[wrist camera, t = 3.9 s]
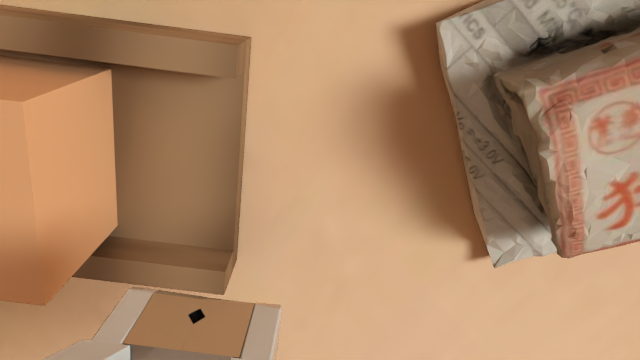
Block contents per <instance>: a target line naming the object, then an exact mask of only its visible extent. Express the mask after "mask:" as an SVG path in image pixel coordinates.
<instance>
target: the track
mask: <svg viewBox="0 0 640 360" xmlns="http://www.w3.org/2000/svg"><path fill="white" fill-rule="evenodd" d="M250 50H251V37H246V36H238V35H231V34H223V33H215V32H207V31H200V30H192V29H184V28H176V27H169V26H161V25H153V24H145V23H138V22H130V21H122V20H114V19H107V18H99V17H91V16H83V15H76V14H68V13H60V12H52V11H45V10H37V9H29V8H21V7H14V6H6V5H0V55H7V56H15V57H23V58H30V59H38V60H46V61H54V62H62V63H70V64H78V65H85V66H93V67H101V68H109V69H111V78H112V102H113V126H114V150H115V174H116V199H117V223H118V226H117V227H116V228H115V229H114V230H113V231H112V232H111V233H110V235H109V236H108V237H107V238H106V239H105V240H104V241H103V242H102V243H101V244H100V246H99V247H98V248H97V249H96V250H95V251H94V252H93V253H92V254H91V256H90V257H89V258H88V259H87V260H86V261H85V262H84V263H83V264H82V266H81V267H80V268H79V269H78V270H77V271H76V272H75V273H74V274H73V275H72V277H77V278H86V279H94V280H102V281H111V282H119V283H127V284H136V285H144V286H153V287H161V288H169V289H178V290H186V291H194V292H203V293H211V294H220V295H224V294H225V291H226V288H227V285H228V282H229V280H230V277H231V274H232V271H233V268H234V266H235V263H236V260H237V248H238V233H239V218H240V203H241V187H242V172H243V157H244V141H245V126H246V111H247V95H248V80H249V65H250Z"/></svg>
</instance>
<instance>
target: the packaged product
mask: <svg viewBox="0 0 640 360" xmlns="http://www.w3.org/2000/svg"><path fill="white" fill-rule="evenodd" d="M436 32H437V41H438V49H439V57H440V65H441V69H442V73H443V76H444V80H445V83H446V87H447V90H448V94H449V97H450V101H451V104H452V108H453V111H454V114H455V118H456V124H457V129H458V134H459V140H460V145H461V151H462V156H463V161H464V166H465V171H466V176H467V180H468V185H469V190H470V195H471V200H472V204H473V209H474V214H475V216H476V219H477V222H478V225H479V227H480V230H481V233H482V236H483V238H484V241H485V244H486V247H487V249H488V252H489V255H490V258H491V261H492V263H493V266H494V268H497V267H500V266H502V265H505V264H508V263H511V262H514V261H518V260H521V259H525V258H529V257H532V256H546V255H549V254H552V253H555V252H557V254H558V255H559V256H560V257H562V258H571V257H574V256H577V255H581V254H585V253H589V252H594V251H599V250H604V249H609V248H613V247H618V246H622V245H626V244H630V243H634V242H638V241H640V0H484V1H481V2H479V3H477V4H475V5H473V6H471V7H468V8H466V9H464V10H462V11H460V12H458V13H455V14H453V15H451V16H449V17H447V18H445V19H443V20H441V21H438V22H436Z"/></svg>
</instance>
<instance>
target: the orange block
mask: <svg viewBox="0 0 640 360" xmlns="http://www.w3.org/2000/svg"><path fill="white" fill-rule="evenodd" d="M117 226H118V223H117V199H116V174H115V150H114V126H113V102H112V78H111V69H109V68H101V67H93V66H85V65H78V64H70V63H62V62H54V61H46V60H38V59H30V58H23V57H15V56H7V55H0V300H2V301H10V302H19V303H27V304H36V305H44V306H45V305H46V304H47V303H48V302H49V301H50V300H51V299H52V298H53V296H54V295H55V294H56V293H57V292H58V291H59V290H60V289H61V288H62V287H63V285H64V284H65V283H66V282H67V281H68V280H69V279H70V278H71V277H72V275H73V274H74V273H75V272H76V271H77V270H78V269H79V268H80V267H81V266H82V264H83V263H84V262H85V261H86V260H87V259H88V258H89V257H90V256H91V254H92V253H93V252H94V251H95V250H96V249H97V248H98V247H99V246H100V244H101V243H102V242H103V241H104V240H105V239H106V238H107V237H108V236H109V235H110V233H111V232H112V231H113V230H114V229H115V228H116V227H117Z"/></svg>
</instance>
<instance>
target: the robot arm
mask: <svg viewBox="0 0 640 360" xmlns="http://www.w3.org/2000/svg"><path fill="white" fill-rule="evenodd" d="M281 311H282V307H281V305H276V304H265V303H256V304H255V303H247V302H239V301H230V300H222V299H213V298H207V297H202V296H195V295H188V294H181V293H174V292H168V291H161V290H158V291H157V290H153V289H145V288H137V287H132V288H130V289H128V290H127V291H126V293H125V294H124V295H123V297H122V298H121V300H120V301H119V302H118V304H117V305H116V307H115V308H114V309H113V311H112V312H111V313H110V315H109V316H108V318H107V319H106V320H105V322H104V323H103V325H102V326H101V327H100V329H99V330H98V331H97V333H96V334H95V336H94V337H93V338H92V340H84V339H83V340H81V341H79V342H77V343H75V344H73V345H71V346H69V347H67V348H65V349H63V350H61V351H59V352H57V353H55V354H53V355H51V356H49V357H47V358H45V359H42V360H276V358H277V349H278V340H279V331H280V322H281Z"/></svg>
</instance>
